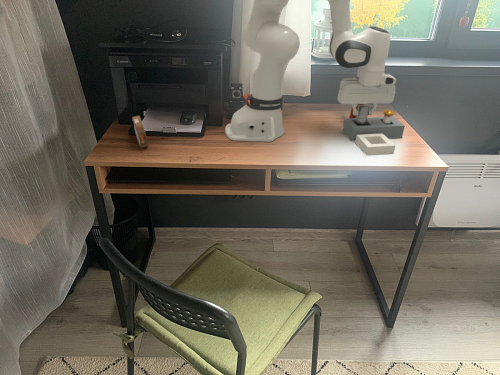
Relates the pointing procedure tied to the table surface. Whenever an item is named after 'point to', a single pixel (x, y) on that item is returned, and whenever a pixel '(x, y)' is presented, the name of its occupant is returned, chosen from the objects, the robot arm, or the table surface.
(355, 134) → the socket block
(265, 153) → the table surface
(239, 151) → the table surface
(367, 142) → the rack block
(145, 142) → the tin
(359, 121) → the grey metal peg
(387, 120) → the gold topped white cylinder
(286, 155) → the table surface
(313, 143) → the table surface
